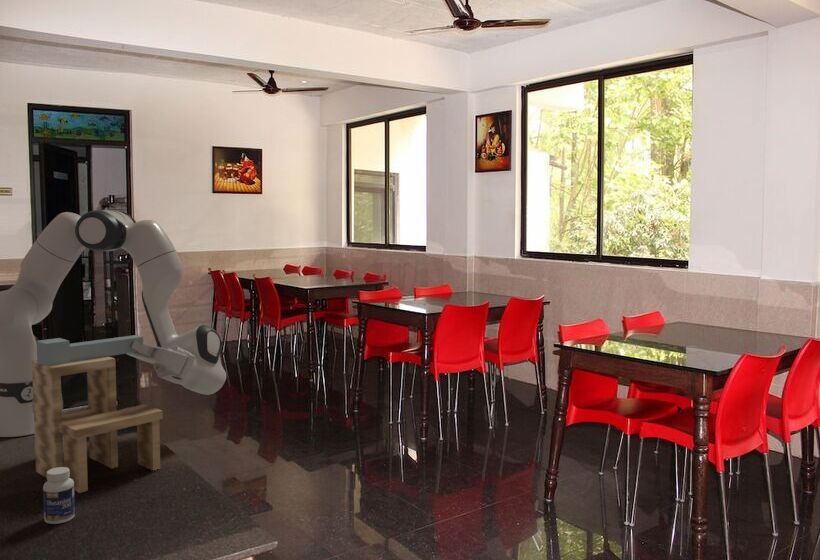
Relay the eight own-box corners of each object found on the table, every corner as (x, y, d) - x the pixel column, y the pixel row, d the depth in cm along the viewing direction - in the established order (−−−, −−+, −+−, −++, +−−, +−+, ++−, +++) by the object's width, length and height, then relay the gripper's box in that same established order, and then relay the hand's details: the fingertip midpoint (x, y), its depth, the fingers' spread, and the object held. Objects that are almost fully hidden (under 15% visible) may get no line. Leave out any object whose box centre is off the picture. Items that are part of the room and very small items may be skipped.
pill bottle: (44, 527, 130) (42, 477, 129) (44, 515, 135) (42, 468, 134) (75, 521, 133) (73, 473, 132) (74, 510, 137) (73, 463, 137)
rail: (37, 362, 153) (36, 340, 153) (134, 348, 171) (134, 328, 170) (46, 366, 150) (46, 343, 150) (144, 351, 168) (144, 331, 167)
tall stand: (36, 471, 158) (31, 360, 155) (96, 455, 168) (93, 352, 166) (56, 484, 151) (52, 368, 148) (118, 466, 161) (115, 358, 159)
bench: (61, 484, 150) (59, 422, 149) (146, 460, 166) (144, 404, 164) (77, 494, 145) (75, 430, 144) (163, 468, 161) (162, 410, 159)
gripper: (156, 346, 184) (112, 326, 174) (199, 357, 171) (154, 336, 161) (145, 368, 182) (100, 348, 172) (188, 381, 169) (142, 361, 159)
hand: (126, 342), depth 167 cm, fingers closed on rail, 3 cm apart
